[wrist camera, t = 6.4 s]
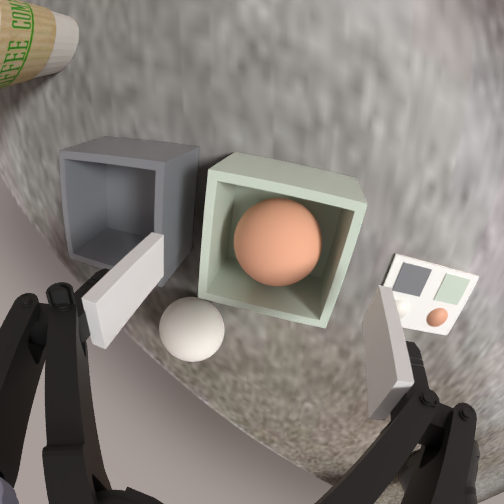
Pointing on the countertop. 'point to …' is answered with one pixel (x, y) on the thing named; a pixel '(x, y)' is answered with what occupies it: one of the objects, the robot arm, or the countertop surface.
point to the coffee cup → (33, 41)
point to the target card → (428, 293)
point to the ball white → (191, 329)
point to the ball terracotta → (278, 242)
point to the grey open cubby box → (128, 199)
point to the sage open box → (290, 187)
